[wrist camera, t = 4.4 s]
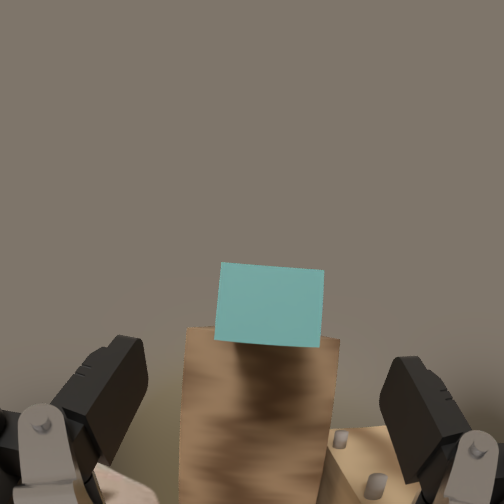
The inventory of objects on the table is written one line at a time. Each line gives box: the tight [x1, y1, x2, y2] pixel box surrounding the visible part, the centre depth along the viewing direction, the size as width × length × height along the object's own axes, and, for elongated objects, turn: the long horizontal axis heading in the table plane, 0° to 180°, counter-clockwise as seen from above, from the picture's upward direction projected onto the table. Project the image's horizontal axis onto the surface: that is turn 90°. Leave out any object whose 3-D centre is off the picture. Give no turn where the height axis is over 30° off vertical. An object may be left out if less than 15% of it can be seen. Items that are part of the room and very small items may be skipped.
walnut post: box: [179, 326, 340, 504], centre depth 21 cm, size 10×12×32 cm
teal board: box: [214, 262, 324, 348], centre depth 21 cm, size 4×20×3 cm, turn 178°
